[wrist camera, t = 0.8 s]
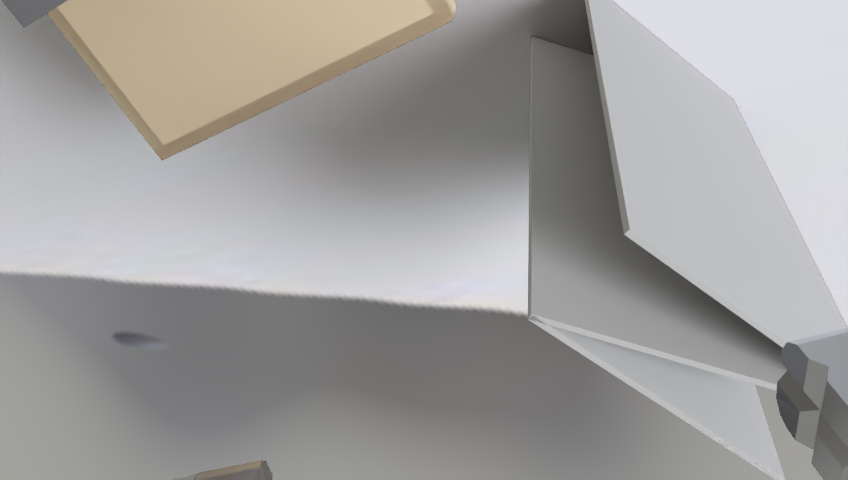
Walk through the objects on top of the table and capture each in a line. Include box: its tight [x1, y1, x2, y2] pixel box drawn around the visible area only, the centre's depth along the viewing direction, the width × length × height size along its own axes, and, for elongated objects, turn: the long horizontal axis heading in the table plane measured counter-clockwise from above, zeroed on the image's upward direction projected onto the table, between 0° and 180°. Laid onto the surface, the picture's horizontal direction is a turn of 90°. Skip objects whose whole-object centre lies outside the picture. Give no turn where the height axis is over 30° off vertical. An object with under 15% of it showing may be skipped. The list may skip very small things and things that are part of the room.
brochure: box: [528, 0, 848, 480], centre depth 42 cm, size 14×6×30 cm, turn 55°
